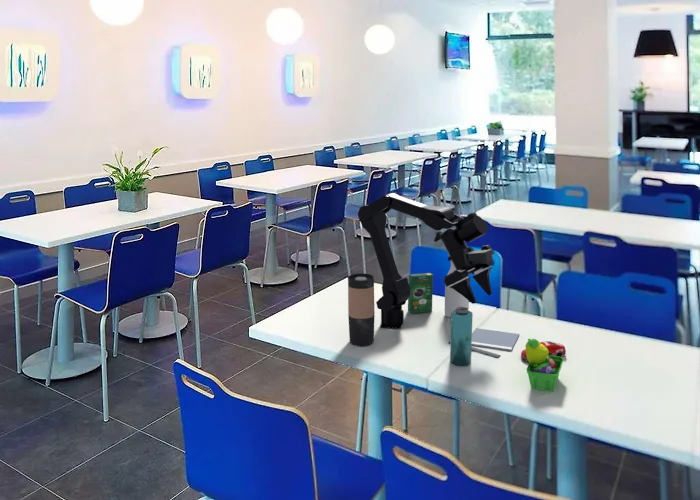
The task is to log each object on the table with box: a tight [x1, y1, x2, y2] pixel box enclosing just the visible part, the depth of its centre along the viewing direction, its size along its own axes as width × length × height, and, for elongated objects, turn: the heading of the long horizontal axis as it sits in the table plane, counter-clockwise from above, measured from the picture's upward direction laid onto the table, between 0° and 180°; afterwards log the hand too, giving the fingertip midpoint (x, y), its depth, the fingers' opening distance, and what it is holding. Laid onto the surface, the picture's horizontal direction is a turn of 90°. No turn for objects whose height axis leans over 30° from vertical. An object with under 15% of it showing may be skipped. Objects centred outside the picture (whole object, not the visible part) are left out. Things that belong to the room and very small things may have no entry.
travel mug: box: [347, 273, 376, 348], centre depth 179 cm, size 8×8×20 cm
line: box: [448, 341, 501, 359], centre depth 174 cm, size 16×2×1 cm, turn 47°
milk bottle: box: [444, 260, 470, 319], centre depth 199 cm, size 8×8×20 cm
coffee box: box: [407, 272, 434, 314], centre depth 204 cm, size 8×3×13 cm, turn 107°
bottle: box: [449, 307, 474, 367], centre depth 164 cm, size 6×6×15 cm
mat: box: [472, 327, 520, 352], centre depth 181 cm, size 13×13×1 cm
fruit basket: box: [525, 338, 565, 392], centre depth 153 cm, size 11×9×11 cm
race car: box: [520, 340, 567, 362], centre depth 168 cm, size 13×5×4 cm, turn 110°
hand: (482, 298), depth 171 cm, fingers open, 9 cm apart
